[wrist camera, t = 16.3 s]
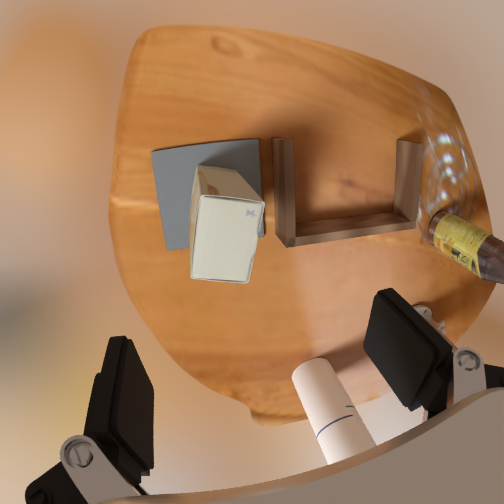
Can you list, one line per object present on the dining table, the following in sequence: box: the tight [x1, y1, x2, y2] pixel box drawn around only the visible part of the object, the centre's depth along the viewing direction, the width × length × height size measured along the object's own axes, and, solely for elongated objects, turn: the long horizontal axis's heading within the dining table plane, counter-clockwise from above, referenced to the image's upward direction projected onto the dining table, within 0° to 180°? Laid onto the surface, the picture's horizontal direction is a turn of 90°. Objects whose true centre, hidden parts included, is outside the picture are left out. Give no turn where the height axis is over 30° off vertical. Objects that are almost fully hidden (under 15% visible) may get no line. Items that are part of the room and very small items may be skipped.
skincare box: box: [189, 165, 265, 283], centre depth 24 cm, size 6×4×12 cm
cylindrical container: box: [292, 358, 376, 465], centre depth 35 cm, size 7×7×25 cm
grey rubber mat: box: [151, 139, 264, 251], centre depth 29 cm, size 11×11×1 cm
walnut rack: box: [272, 138, 423, 248], centre depth 30 cm, size 18×11×4 cm, turn 94°
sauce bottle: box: [428, 211, 504, 284], centre depth 30 cm, size 7×6×20 cm
